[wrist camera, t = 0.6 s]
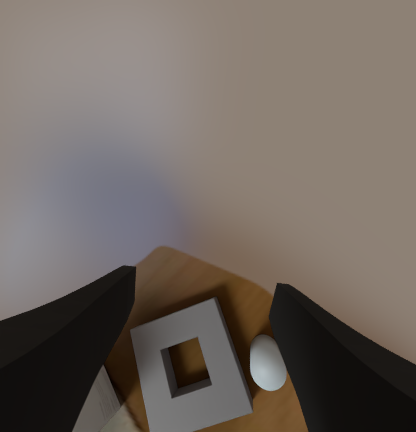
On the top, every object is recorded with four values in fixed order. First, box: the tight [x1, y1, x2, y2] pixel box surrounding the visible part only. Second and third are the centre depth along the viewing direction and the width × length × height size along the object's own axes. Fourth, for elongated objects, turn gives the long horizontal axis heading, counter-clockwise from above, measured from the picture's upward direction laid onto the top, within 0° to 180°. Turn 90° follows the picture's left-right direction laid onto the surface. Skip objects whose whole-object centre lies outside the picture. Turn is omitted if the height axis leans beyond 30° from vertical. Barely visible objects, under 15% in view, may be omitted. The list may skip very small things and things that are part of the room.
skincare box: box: [72, 365, 121, 432], centre depth 24 cm, size 8×6×15 cm
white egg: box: [250, 335, 286, 391], centre depth 26 cm, size 4×4×6 cm
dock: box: [130, 296, 253, 432], centre depth 29 cm, size 14×14×2 cm
